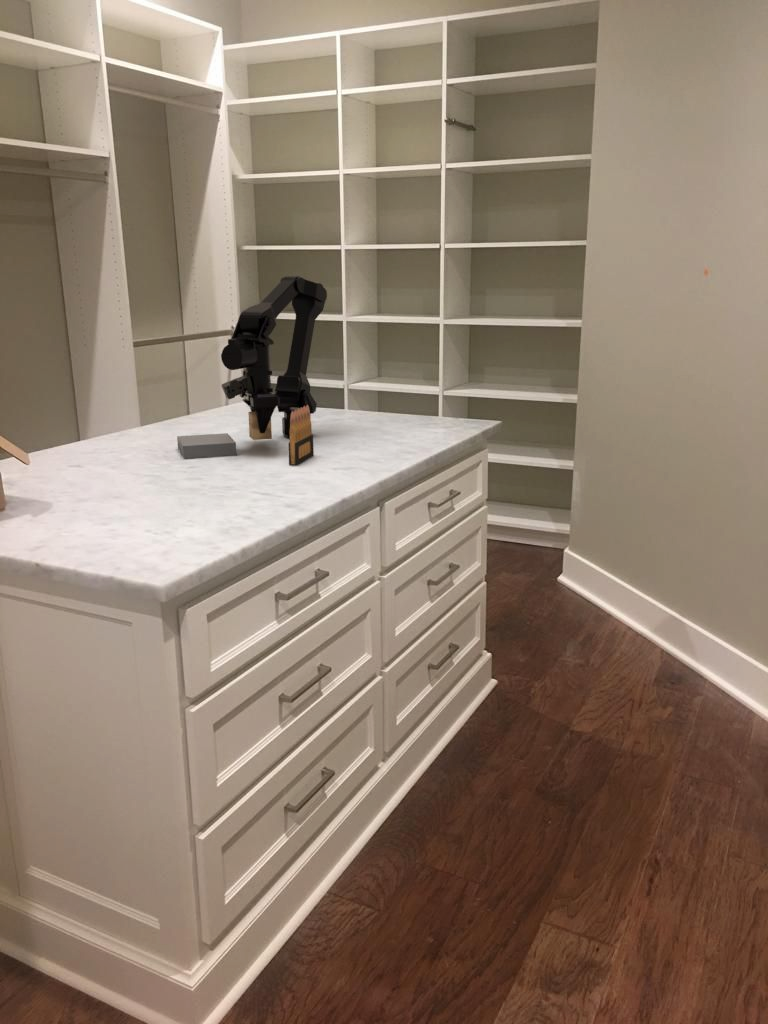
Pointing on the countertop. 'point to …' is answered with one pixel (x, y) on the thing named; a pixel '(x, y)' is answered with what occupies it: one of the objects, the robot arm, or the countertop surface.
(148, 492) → the countertop surface
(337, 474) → the countertop surface
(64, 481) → the countertop surface
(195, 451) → the slate base
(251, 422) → the wooden block
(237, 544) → the countertop surface
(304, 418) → the ammunition clip
